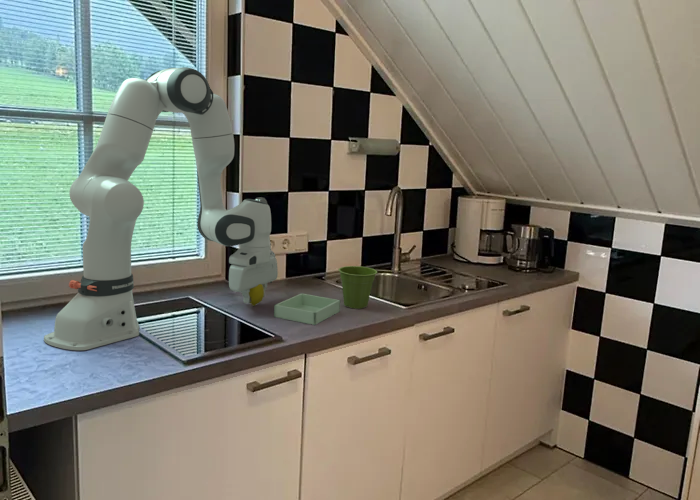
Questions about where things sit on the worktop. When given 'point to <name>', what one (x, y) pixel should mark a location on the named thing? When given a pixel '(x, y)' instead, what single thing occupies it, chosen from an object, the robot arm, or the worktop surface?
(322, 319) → the tray
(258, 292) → the lemon
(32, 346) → the worktop surface
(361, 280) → the plant pot
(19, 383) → the worktop surface
